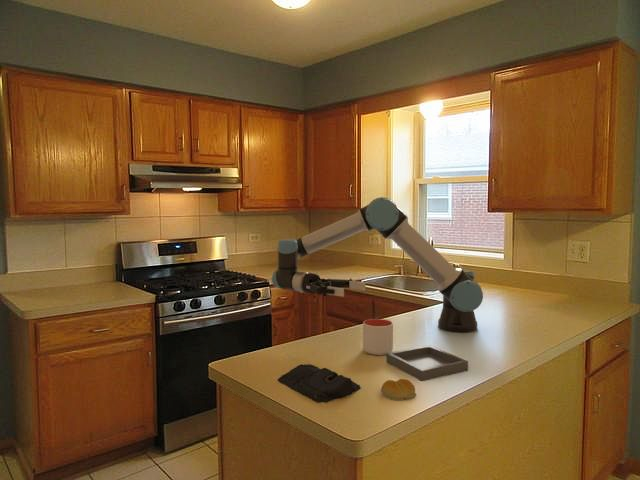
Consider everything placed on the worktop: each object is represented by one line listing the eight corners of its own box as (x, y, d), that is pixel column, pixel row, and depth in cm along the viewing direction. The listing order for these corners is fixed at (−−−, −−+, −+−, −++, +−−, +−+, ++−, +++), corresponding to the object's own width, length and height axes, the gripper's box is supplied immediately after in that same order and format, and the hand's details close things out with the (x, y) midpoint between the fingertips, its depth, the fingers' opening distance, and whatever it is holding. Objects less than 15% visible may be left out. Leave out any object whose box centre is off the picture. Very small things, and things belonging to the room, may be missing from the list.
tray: (429, 353, 158) (429, 345, 158) (467, 370, 143) (468, 361, 142) (386, 362, 150) (386, 353, 150) (421, 381, 135) (422, 370, 135)
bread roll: (377, 390, 129) (378, 375, 129) (409, 388, 130) (410, 374, 130) (385, 403, 121) (385, 387, 121) (419, 401, 122) (419, 385, 122)
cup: (398, 354, 158) (398, 324, 157) (371, 358, 155) (371, 327, 154) (383, 345, 168) (383, 317, 167) (358, 348, 164) (358, 320, 163)
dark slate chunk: (314, 369, 146) (314, 354, 146) (365, 391, 129) (365, 374, 129) (273, 381, 136) (272, 365, 136) (321, 407, 119) (321, 389, 119)
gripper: (327, 287, 188) (373, 294, 175) (285, 298, 168) (333, 306, 156) (327, 268, 188) (373, 274, 175) (284, 277, 168) (333, 284, 155)
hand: (354, 289), depth 165 cm, fingers open, 13 cm apart
